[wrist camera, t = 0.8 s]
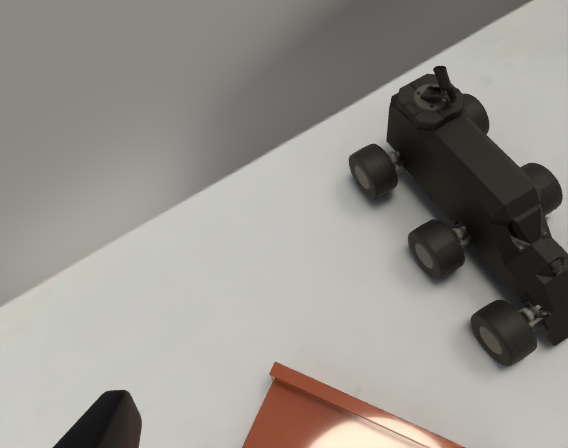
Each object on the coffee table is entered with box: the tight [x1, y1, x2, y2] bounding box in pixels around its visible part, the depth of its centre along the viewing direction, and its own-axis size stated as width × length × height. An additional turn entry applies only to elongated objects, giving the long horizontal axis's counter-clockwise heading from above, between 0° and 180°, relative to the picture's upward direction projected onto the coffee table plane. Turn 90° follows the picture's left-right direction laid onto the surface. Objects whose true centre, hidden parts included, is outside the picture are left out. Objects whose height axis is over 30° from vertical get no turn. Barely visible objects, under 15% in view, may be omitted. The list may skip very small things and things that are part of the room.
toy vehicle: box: [349, 66, 568, 366], centre depth 27 cm, size 8×15×9 cm, turn 30°
